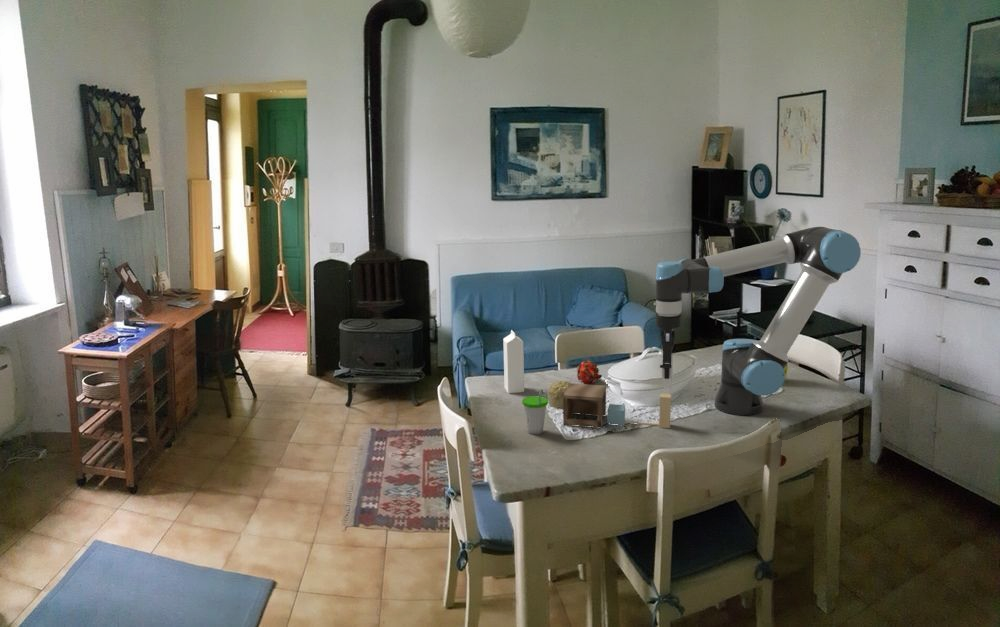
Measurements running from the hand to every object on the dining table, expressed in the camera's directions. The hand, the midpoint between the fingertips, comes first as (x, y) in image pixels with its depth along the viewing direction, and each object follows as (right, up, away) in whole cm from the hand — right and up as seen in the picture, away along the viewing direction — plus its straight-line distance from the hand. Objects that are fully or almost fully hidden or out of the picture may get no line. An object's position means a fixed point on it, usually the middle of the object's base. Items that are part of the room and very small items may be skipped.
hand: (667, 380), depth 213 cm
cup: (-40, -16, +2) cm, 44 cm away
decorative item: (-30, -10, +25) cm, 41 cm away
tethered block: (-8, -14, +6) cm, 17 cm away
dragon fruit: (-18, -5, +46) cm, 49 cm away
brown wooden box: (-24, -13, +10) cm, 29 cm away
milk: (-46, -7, +39) cm, 61 cm away
